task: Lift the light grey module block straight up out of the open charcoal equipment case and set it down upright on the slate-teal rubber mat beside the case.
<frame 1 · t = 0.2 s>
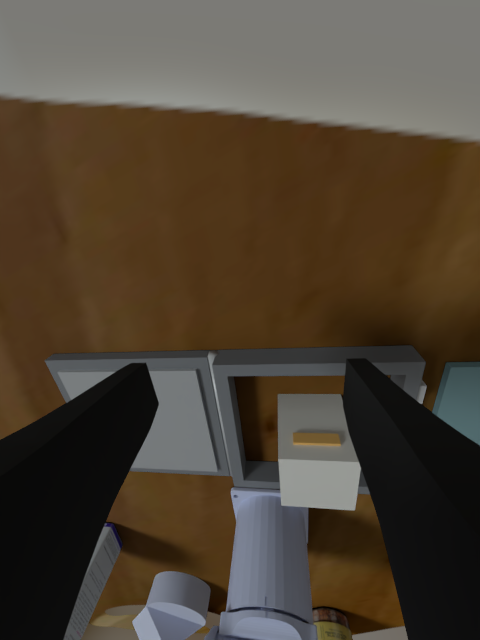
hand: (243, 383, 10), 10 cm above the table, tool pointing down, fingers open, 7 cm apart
sauce bottle: (327, 612, 40), on the table
module: (308, 416, 23), resting in equipment case
supplement box: (100, 529, 37), on the table
equipment case: (308, 417, 23), on the table
wedge on round base: (178, 587, 43), on the table
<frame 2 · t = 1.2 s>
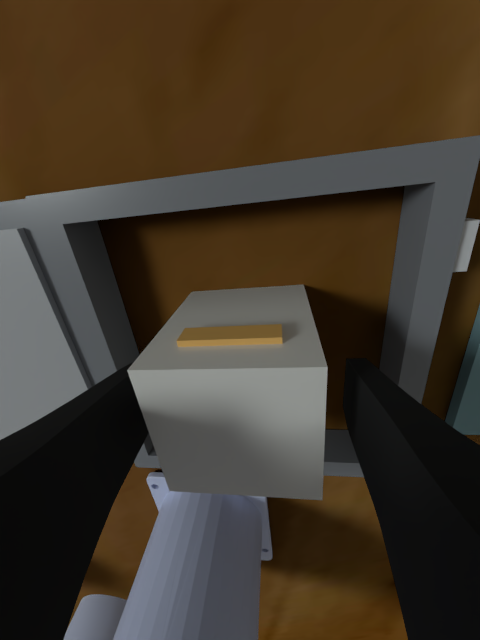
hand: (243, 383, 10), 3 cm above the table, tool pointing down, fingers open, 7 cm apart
module: (251, 336, 13), resting in equipment case
equipment case: (250, 337, 13), on the table
wedge on round base: (115, 615, 32), on the table
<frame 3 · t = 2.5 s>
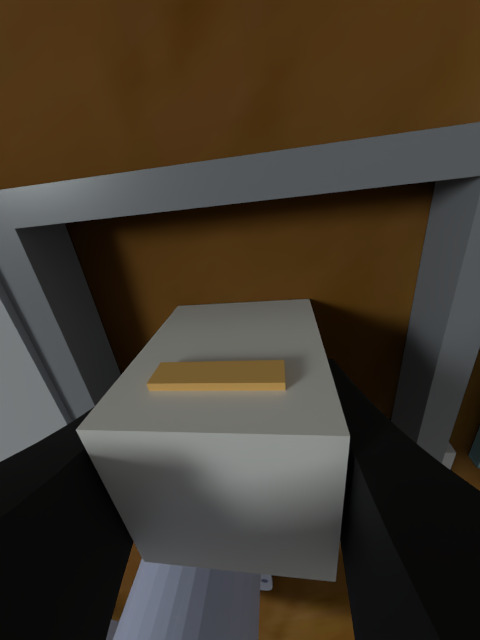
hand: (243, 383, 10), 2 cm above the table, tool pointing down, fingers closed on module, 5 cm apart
module: (247, 357, 11), resting in equipment case, touching gripper
equipment case: (247, 358, 11), on the table
wedge on round base: (107, 634, 31), on the table
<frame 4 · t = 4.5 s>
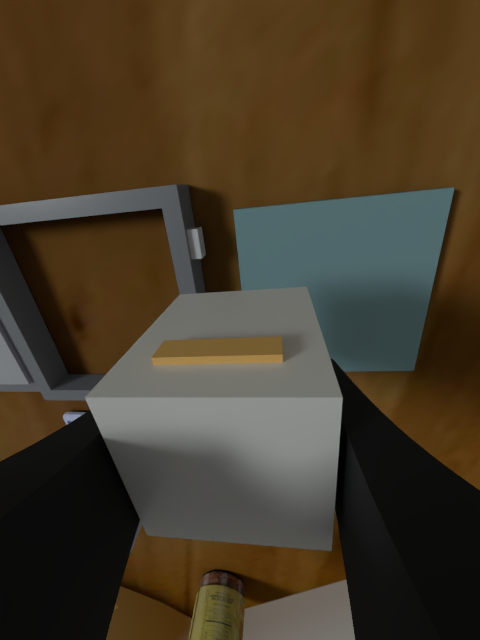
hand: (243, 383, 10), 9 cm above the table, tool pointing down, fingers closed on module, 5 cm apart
sauce bottle: (223, 577, 36), on the table
module: (247, 345, 11), point 7 cm above the table, touching gripper
equipment case: (111, 305, 19), on the table
mat: (330, 294, 17), on the table
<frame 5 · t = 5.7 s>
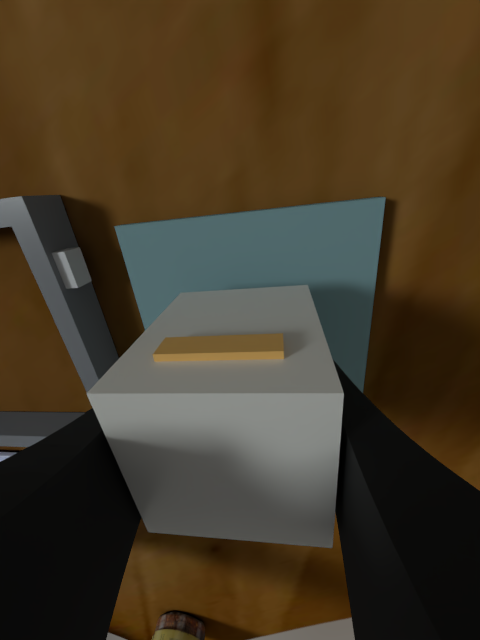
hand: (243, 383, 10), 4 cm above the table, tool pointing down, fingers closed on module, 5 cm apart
sauce bottle: (184, 617, 33), on the table
module: (247, 344, 11), point 2 cm above the table, touching gripper
equipment case: (3, 337, 16), on the table
mat: (252, 327, 14), on the table
when the fingers open (3 cm above the table, at t = 6.8 s): module stays where it is, resting on mat.
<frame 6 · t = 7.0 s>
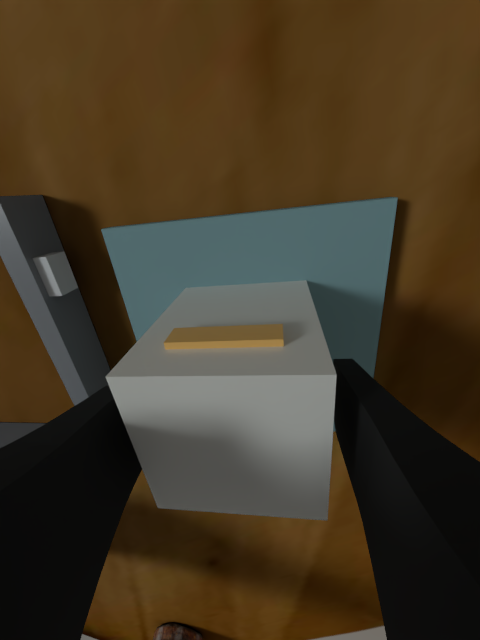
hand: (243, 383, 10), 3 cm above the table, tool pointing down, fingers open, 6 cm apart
sauce bottle: (181, 628, 32), on the table
module: (249, 337, 12), point 1 cm above the table, touching mat
mat: (251, 336, 13), on the table
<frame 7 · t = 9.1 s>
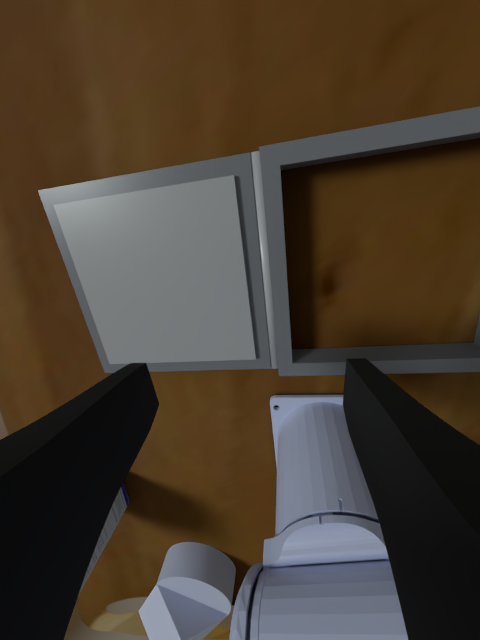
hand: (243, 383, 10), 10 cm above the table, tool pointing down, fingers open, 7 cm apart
supplement box: (102, 480, 30), on the table
equipment case: (383, 261, 17), on the table
wedge on round base: (196, 568, 35), on the table
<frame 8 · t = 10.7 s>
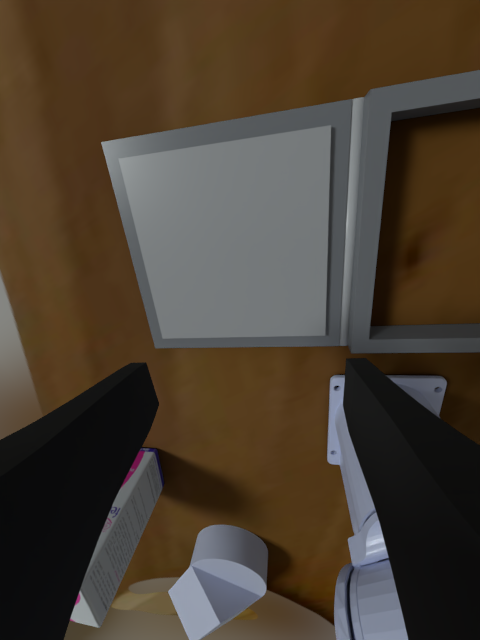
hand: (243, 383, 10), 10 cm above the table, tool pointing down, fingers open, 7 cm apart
supplement box: (137, 460, 30), on the table
equipment case: (478, 230, 15), on the table
wedge on round base: (226, 551, 34), on the table
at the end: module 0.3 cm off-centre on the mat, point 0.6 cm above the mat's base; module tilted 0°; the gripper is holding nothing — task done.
